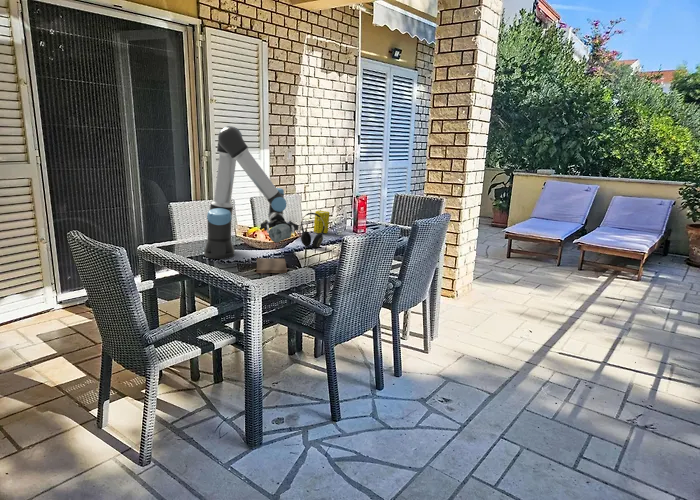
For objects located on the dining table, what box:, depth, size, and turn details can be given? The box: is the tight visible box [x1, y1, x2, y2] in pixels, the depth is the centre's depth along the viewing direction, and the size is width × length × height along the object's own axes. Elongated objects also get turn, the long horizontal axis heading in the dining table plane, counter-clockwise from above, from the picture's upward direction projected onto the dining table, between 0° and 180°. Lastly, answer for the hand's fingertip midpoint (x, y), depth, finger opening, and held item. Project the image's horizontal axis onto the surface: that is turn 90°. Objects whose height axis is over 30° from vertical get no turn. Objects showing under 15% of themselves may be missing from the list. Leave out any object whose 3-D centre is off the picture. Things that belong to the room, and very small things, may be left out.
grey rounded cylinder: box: [268, 224, 292, 244], centre depth 230 cm, size 14×10×10 cm
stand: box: [256, 257, 288, 274], centre depth 226 cm, size 14×18×2 cm
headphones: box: [300, 212, 325, 249], centre depth 266 cm, size 9×15×20 cm, turn 69°
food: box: [313, 209, 330, 234], centre depth 302 cm, size 15×12×10 cm
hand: (281, 230), depth 226 cm, fingers closed on grey rounded cylinder, 11 cm apart
